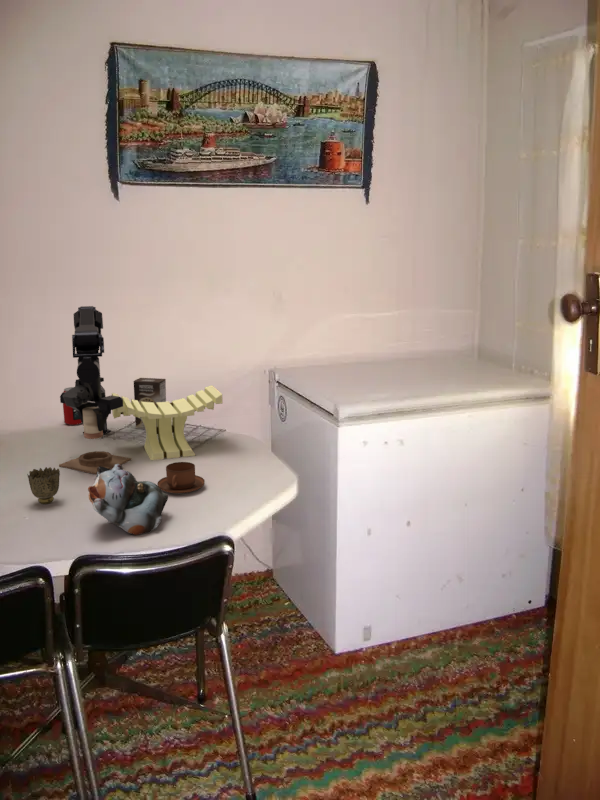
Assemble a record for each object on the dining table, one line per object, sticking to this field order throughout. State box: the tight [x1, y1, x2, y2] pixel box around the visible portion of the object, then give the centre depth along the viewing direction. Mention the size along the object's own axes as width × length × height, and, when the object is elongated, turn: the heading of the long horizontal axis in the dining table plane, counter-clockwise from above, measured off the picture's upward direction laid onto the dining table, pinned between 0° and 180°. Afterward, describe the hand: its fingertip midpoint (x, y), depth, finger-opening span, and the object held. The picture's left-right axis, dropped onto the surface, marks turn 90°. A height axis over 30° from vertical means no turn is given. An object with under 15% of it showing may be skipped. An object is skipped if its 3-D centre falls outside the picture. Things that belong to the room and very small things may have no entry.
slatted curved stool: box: [111, 385, 224, 461], centre depth 222 cm, size 30×16×18 cm, turn 110°
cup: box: [26, 466, 61, 505], centre depth 183 cm, size 8×7×8 cm
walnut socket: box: [58, 450, 132, 476], centre depth 212 cm, size 14×14×2 cm
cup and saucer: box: [156, 461, 206, 495], centre depth 192 cm, size 12×12×6 cm
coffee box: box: [133, 377, 167, 430], centre depth 248 cm, size 9×6×16 cm
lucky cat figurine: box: [87, 464, 169, 536], centre depth 169 cm, size 17×14×16 cm
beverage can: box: [62, 386, 83, 426], centre depth 252 cm, size 7×7×12 cm
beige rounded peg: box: [82, 407, 104, 440], centre depth 210 cm, size 5×5×8 cm
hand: (93, 429), depth 210 cm, fingers closed on beige rounded peg, 5 cm apart
